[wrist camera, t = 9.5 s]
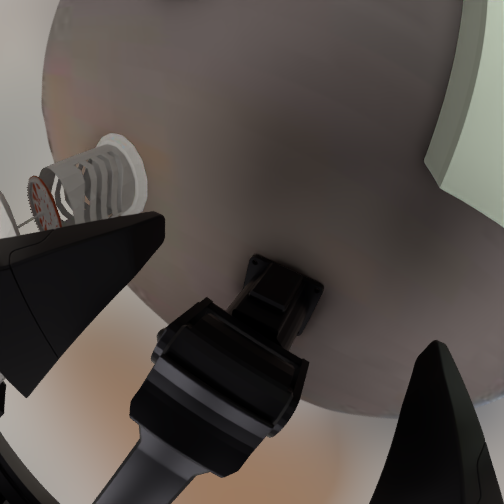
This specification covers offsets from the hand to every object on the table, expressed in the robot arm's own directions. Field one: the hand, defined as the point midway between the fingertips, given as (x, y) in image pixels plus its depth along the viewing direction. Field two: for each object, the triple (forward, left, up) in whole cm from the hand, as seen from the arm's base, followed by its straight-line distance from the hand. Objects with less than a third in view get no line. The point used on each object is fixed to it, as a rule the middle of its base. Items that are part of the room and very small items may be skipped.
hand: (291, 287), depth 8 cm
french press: (-8, +22, -12) cm, 26 cm away
